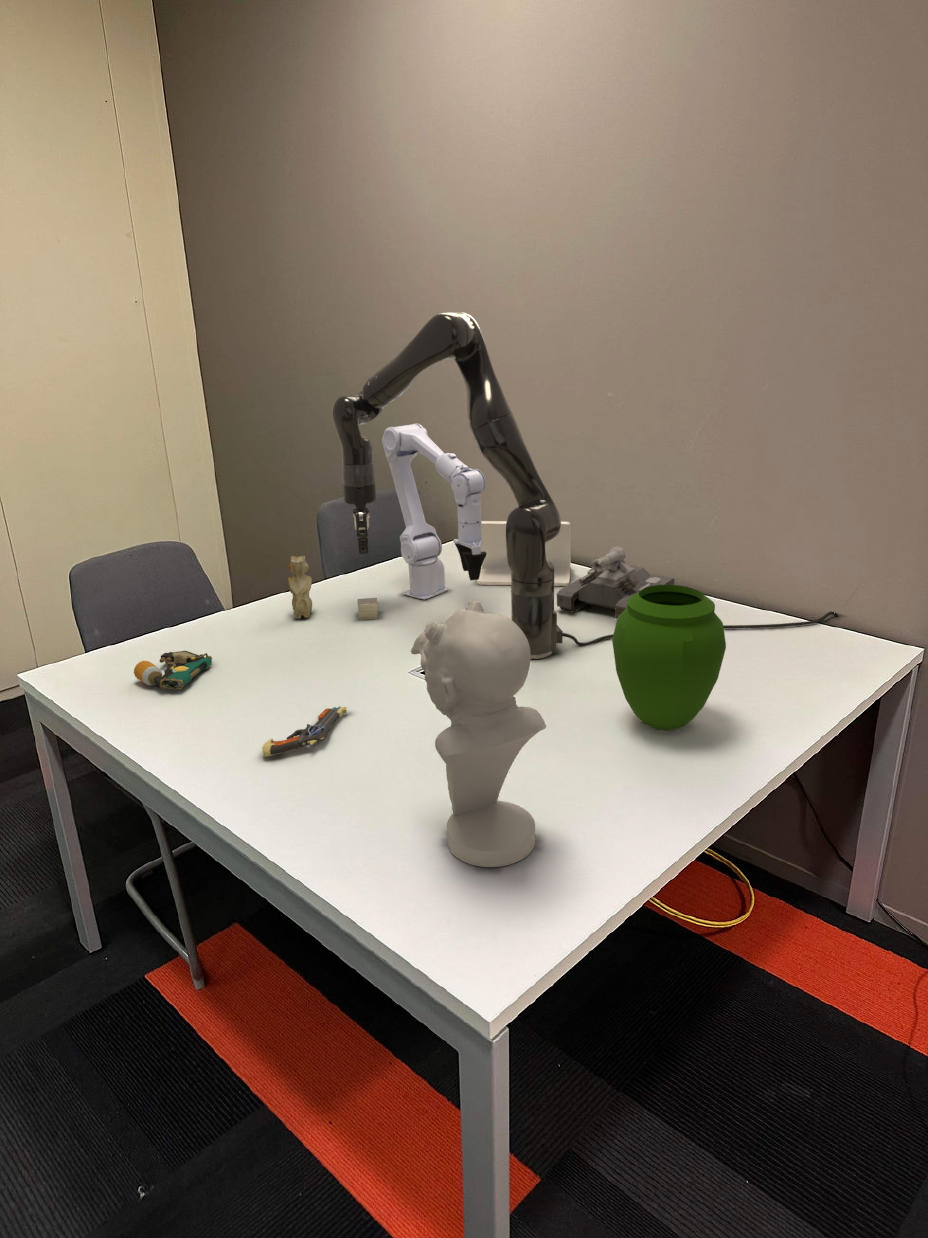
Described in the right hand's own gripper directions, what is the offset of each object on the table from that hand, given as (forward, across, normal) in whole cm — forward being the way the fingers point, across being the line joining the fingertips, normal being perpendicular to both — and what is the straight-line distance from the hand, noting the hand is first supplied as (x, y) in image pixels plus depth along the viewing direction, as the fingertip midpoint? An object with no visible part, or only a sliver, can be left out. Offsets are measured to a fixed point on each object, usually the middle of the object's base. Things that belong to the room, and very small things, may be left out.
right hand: (363, 548), depth 206 cm
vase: (+17, +66, +53) cm, 86 cm away
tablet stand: (+18, -25, +44) cm, 53 cm away
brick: (+18, 0, 0) cm, 18 cm away
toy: (+17, +4, +62) cm, 64 cm away
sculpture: (+18, -3, -16) cm, 24 cm away
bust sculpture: (+17, +95, +14) cm, 97 cm away
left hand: (+8, +1, +26) cm, 27 cm away
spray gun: (+18, +29, -41) cm, 53 cm away
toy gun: (+17, +61, -12) cm, 64 cm away
